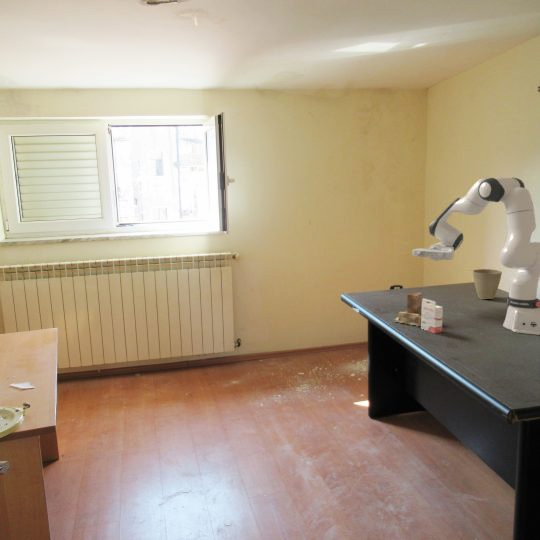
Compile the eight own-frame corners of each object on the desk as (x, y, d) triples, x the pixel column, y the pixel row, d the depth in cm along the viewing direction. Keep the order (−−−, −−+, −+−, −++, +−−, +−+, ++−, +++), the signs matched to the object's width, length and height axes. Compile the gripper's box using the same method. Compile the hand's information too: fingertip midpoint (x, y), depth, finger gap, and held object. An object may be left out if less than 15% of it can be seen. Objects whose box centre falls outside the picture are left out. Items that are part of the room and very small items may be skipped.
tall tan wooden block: (421, 316, 232) (422, 292, 230) (415, 320, 227) (416, 295, 224) (412, 315, 235) (412, 291, 233) (406, 318, 229) (407, 294, 227)
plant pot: (494, 295, 276) (496, 268, 273) (504, 301, 261) (506, 273, 259) (467, 295, 278) (469, 268, 275) (476, 301, 263) (477, 273, 260)
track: (433, 319, 232) (433, 308, 231) (422, 327, 220) (422, 315, 219) (405, 315, 240) (405, 304, 239) (393, 322, 229) (394, 311, 228)
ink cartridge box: (442, 332, 213) (444, 300, 210) (434, 333, 210) (435, 301, 208) (428, 327, 220) (429, 296, 218) (420, 328, 218) (421, 298, 215)
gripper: (417, 244, 255) (408, 248, 244) (456, 247, 242) (448, 250, 232) (417, 256, 256) (407, 260, 245) (456, 259, 244) (448, 263, 233)
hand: (427, 255), depth 238 cm, fingers open, 8 cm apart
